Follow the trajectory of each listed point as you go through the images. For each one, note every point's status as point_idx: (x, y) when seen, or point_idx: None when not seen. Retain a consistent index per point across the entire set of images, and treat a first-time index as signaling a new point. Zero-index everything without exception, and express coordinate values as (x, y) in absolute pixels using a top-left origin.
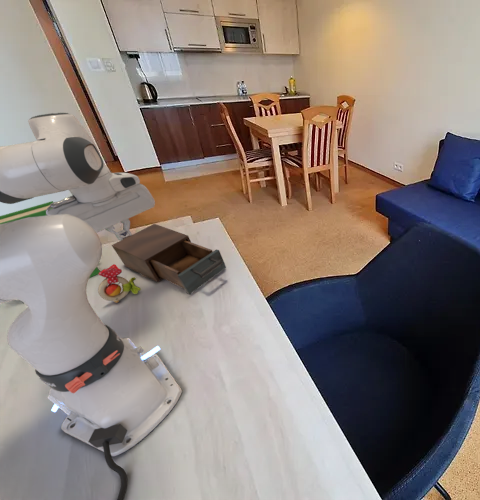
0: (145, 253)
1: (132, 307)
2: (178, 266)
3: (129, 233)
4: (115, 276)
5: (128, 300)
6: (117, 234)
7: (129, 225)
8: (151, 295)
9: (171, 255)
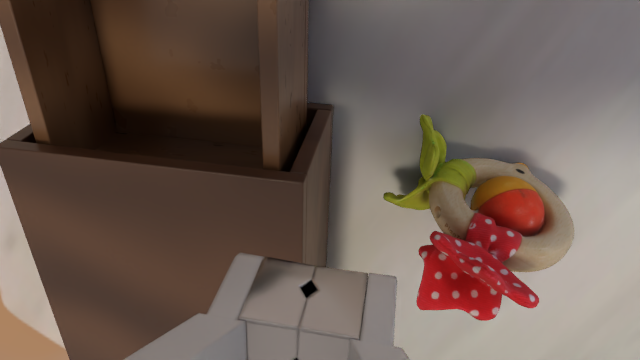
0: (255, 240)
1: (528, 56)
2: (202, 75)
3: (248, 276)
4: (472, 237)
5: (489, 128)
6: (388, 353)
7: (143, 353)
8: (419, 42)
9: (172, 157)
